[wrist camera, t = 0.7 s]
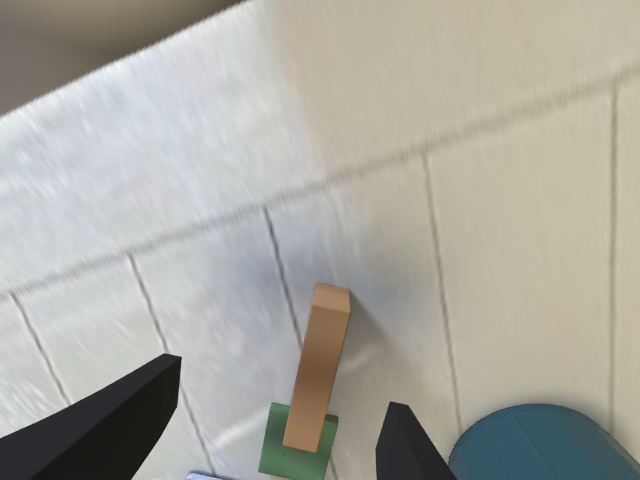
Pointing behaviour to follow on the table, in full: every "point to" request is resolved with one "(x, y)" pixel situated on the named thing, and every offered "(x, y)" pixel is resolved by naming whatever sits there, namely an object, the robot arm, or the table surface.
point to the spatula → (309, 395)
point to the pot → (540, 448)
